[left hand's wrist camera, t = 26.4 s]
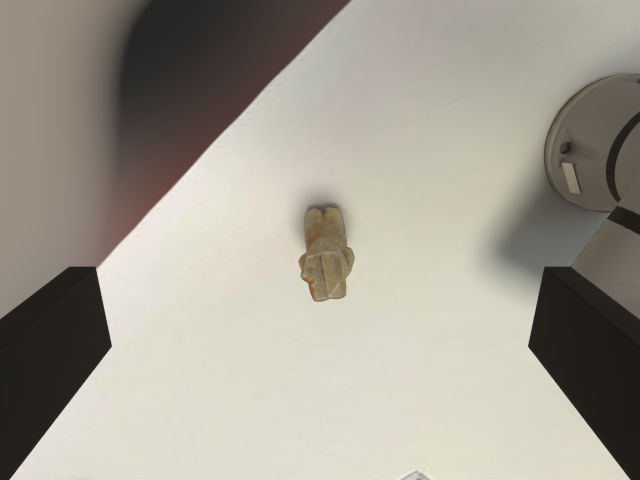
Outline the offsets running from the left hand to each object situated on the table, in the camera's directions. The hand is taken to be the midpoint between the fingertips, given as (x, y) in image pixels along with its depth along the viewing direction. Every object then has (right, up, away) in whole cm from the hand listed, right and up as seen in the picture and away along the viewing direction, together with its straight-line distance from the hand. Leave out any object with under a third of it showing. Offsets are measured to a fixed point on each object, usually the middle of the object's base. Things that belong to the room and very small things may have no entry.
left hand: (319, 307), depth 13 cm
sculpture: (+1, +3, +41) cm, 41 cm away
